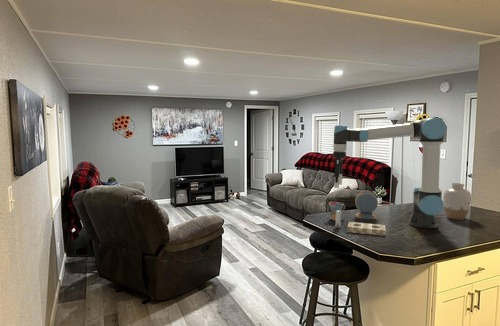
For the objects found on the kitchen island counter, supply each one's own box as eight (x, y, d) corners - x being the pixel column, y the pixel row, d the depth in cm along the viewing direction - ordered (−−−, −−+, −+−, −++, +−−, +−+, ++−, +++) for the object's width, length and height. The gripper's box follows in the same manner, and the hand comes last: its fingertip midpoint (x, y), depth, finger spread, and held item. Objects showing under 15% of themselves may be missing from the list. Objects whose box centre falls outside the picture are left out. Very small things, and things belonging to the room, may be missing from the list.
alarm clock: (375, 215, 229) (376, 189, 227) (378, 219, 219) (379, 192, 217) (353, 214, 231) (354, 189, 229) (355, 218, 222) (356, 191, 220)
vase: (465, 222, 212) (467, 186, 209) (438, 217, 223) (440, 183, 221) (473, 218, 222) (475, 184, 220) (447, 213, 234) (449, 181, 232)
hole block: (384, 230, 195) (384, 225, 194) (385, 235, 185) (385, 230, 184) (348, 226, 202) (349, 221, 201) (347, 231, 191) (347, 226, 191)
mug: (335, 222, 211) (335, 205, 210) (325, 218, 219) (326, 202, 218) (349, 220, 217) (350, 203, 215) (339, 216, 225) (340, 201, 224)
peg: (340, 226, 201) (341, 210, 200) (340, 228, 199) (340, 211, 198) (335, 226, 202) (336, 210, 201) (335, 227, 200) (335, 211, 199)
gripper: (336, 149, 214) (334, 182, 217) (330, 152, 191) (328, 188, 194) (348, 150, 212) (346, 183, 214) (343, 152, 189) (341, 190, 191)
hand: (337, 186), depth 204 cm, fingers open, 13 cm apart
